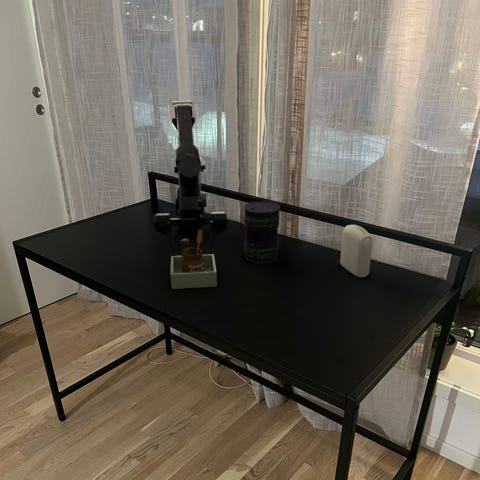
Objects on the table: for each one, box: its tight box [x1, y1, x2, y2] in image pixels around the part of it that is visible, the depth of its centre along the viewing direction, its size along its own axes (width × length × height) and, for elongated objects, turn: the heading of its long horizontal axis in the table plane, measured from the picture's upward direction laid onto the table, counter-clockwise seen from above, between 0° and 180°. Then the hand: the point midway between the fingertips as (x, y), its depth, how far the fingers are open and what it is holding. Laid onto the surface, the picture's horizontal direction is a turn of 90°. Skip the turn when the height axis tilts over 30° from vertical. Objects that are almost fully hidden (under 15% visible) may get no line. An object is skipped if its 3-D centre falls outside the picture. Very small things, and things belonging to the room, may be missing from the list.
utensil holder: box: [180, 229, 204, 273], centre depth 134 cm, size 6×6×12 cm
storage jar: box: [243, 200, 280, 265], centre depth 145 cm, size 10×10×15 cm
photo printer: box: [339, 224, 374, 278], centre depth 137 cm, size 10×4×12 cm, turn 20°
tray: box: [169, 253, 218, 290], centre depth 136 cm, size 12×12×4 cm
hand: (191, 252), depth 132 cm, fingers open, 9 cm apart
